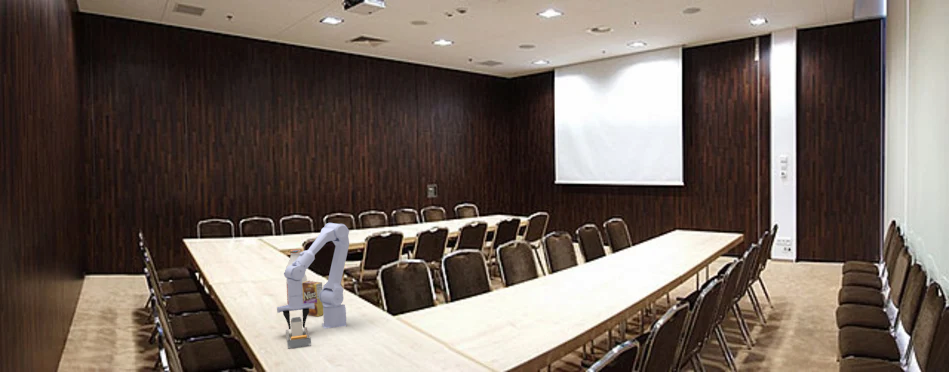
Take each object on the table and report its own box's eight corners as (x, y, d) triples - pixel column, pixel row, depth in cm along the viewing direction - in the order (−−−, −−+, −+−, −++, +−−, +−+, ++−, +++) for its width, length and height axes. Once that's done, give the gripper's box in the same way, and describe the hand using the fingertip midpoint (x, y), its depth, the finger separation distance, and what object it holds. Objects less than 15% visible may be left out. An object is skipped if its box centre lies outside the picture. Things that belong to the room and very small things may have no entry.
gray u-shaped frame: (310, 330, 247) (309, 322, 247) (314, 346, 226) (314, 337, 226) (282, 334, 243) (282, 325, 243) (284, 350, 222) (284, 341, 222)
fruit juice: (292, 311, 279) (289, 252, 277) (284, 307, 286) (282, 250, 284) (311, 307, 285) (308, 249, 283) (303, 303, 292) (300, 247, 290)
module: (301, 331, 244) (300, 316, 244) (302, 336, 238) (301, 320, 238) (291, 332, 243) (290, 317, 243) (292, 337, 237) (291, 322, 236)
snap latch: (306, 342, 230) (306, 334, 230) (307, 343, 228) (306, 336, 228) (291, 344, 228) (290, 336, 228) (291, 345, 226) (291, 338, 226)
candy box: (303, 314, 272) (301, 282, 271) (309, 312, 276) (308, 280, 275) (317, 317, 267) (316, 283, 267) (324, 314, 271) (322, 281, 270)
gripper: (312, 290, 245) (314, 322, 246) (276, 294, 241) (277, 327, 241) (314, 294, 239) (315, 327, 240) (276, 298, 234) (278, 332, 235)
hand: (296, 327), depth 240 cm, fingers open, 5 cm apart
